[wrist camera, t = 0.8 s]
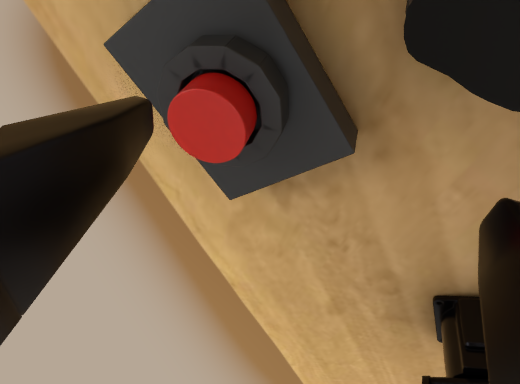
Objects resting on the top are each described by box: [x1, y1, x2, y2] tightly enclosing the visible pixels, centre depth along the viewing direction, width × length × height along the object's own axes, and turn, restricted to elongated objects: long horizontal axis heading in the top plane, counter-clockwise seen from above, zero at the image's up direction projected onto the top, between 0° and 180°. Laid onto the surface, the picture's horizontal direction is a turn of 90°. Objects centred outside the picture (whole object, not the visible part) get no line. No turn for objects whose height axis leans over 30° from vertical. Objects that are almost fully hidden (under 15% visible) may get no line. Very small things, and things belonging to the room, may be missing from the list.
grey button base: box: [104, 0, 358, 200], centre depth 22 cm, size 13×10×4 cm
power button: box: [167, 73, 257, 163], centre depth 20 cm, size 4×4×2 cm
